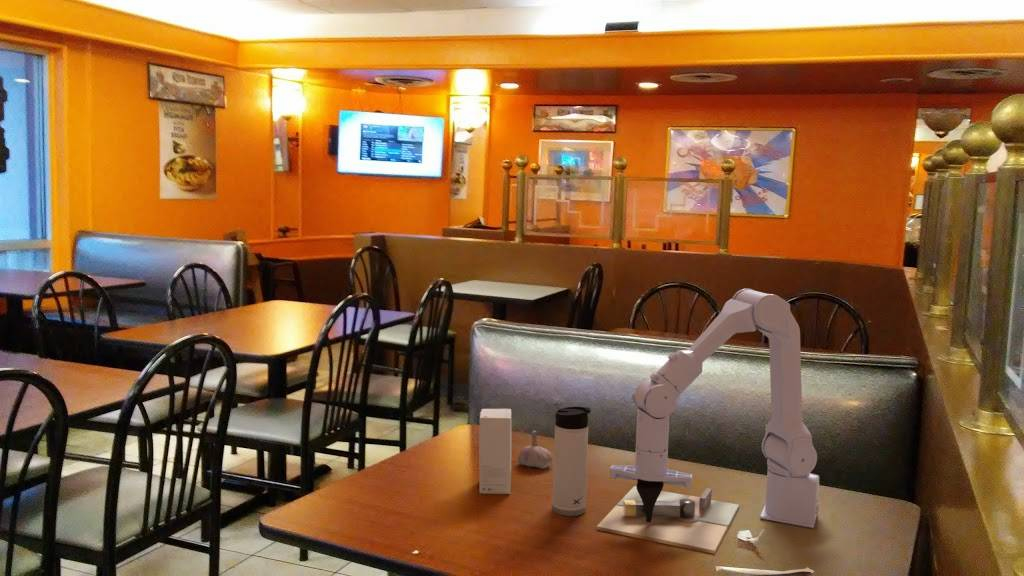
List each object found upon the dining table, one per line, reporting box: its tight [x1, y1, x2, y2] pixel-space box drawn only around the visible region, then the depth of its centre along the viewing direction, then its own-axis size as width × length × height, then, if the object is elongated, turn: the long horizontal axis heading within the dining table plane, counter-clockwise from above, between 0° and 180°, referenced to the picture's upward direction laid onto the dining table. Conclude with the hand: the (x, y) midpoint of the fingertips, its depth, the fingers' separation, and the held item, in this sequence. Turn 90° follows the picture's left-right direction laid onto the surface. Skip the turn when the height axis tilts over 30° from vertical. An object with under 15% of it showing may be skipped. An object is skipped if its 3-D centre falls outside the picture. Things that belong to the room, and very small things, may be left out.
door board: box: [596, 485, 740, 555], centre depth 152 cm, size 21×23×3 cm
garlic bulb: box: [517, 430, 554, 469], centre depth 179 cm, size 8×7×8 cm
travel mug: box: [552, 406, 592, 517], centre depth 154 cm, size 6×7×20 cm
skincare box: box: [478, 408, 512, 495], centre depth 165 cm, size 8×7×16 cm
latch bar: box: [623, 499, 695, 518], centre depth 151 cm, size 13×3×3 cm, turn 90°
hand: (648, 520), depth 148 cm, fingers closed
